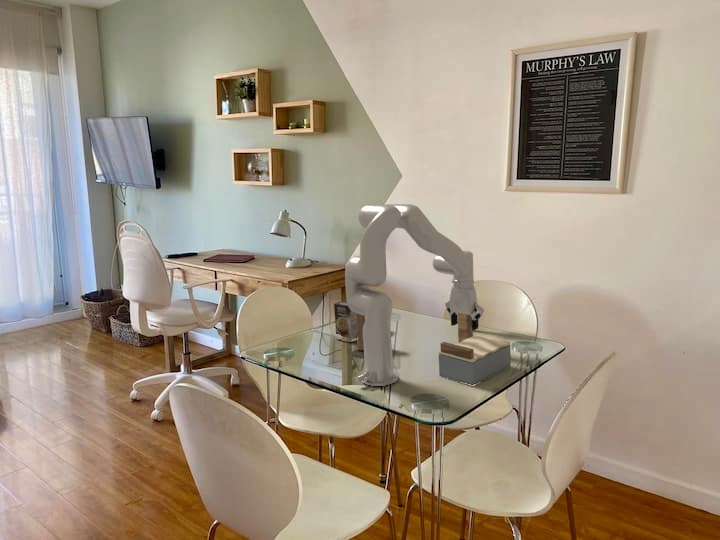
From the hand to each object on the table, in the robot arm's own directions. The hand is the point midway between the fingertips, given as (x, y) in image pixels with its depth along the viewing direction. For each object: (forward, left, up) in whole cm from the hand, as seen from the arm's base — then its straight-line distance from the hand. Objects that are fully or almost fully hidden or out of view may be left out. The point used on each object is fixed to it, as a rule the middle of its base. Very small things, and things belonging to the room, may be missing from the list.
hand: (464, 327), depth 208 cm
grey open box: (-16, -16, -9) cm, 24 cm away
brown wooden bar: (+1, 0, -9) cm, 9 cm away
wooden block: (-22, +30, -9) cm, 38 cm away
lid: (-16, -16, -1) cm, 22 cm away
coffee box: (-19, +47, -9) cm, 51 cm away
